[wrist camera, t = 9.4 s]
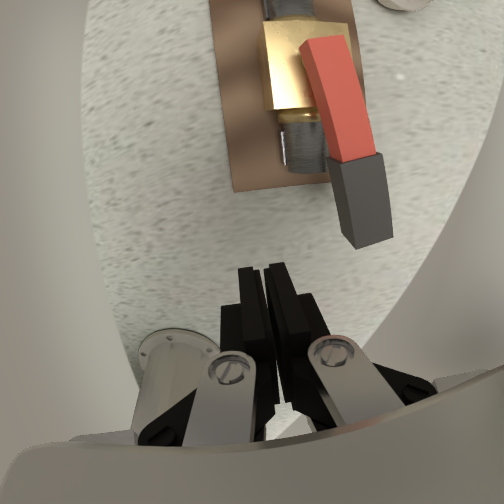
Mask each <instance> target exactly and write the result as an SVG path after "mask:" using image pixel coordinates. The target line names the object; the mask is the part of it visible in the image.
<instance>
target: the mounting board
mask: <svg viewBox="0 0 504 504" xmlns="http://www.w3.org/2000/svg"><path fill="white" fill-rule="evenodd" d="M313 2H314V7H315V13H316V17H318V18H320V19H321V20H322V22H336V23H347V25H348V30H349V36H350V43H351V49H352V56H353V64H354V67H355V70H356V74H357V77H358V80H359V84H360V87H361V91H362V95H363V98H364V102H365V106H366V99H365V88H364V79H363V70H362V63H361V55H360V48H359V42H358V36H357V30H356V24H355V19H354V14H353V9H352V4H351V0H313ZM209 5H210V13H211V22H212V30H213V38H214V46H215V54H216V62H217V70H218V78H219V86H220V93H221V101H222V109H223V116H224V124H225V132H226V139H227V147H228V154H229V161H230V169H231V176H232V183H233V190H234V193H236V192H244V191H251V190H259V189H268V188H277V187H286V186H295V185H305V184H316V183H328V182H331V179H330V174H329V171H328V172H324V173H315V174H297V173H291V172H288V168H287V165H284V164H283V163H282V162H281V159H280V148H279V139H278V131H284V126H283V123H278V114H277V110H276V111H265V109H264V101H263V93H262V84H261V76H260V68H259V61H258V53H257V46H256V41H257V38H258V35H259V32H260V29H261V26H262V23H263V22H264V19H263V12H262V6H261V0H209Z"/></svg>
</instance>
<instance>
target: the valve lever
mask: <svg viewBox="0 0 504 504" xmlns="http://www.w3.org/2000/svg"><path fill="white" fill-rule="evenodd" d="M299 51H300V54H301V57H302V64H303V66H304V67H305V69H306V72H307V75H308V78H309V81H310V84H311V87H312V90H313V94H314V97H315V100H316V104H317V107H318V111H319V114H320V118H321V121H322V125H323V129H324V132H325V136H326V140H327V144H328V148H329V152H330V156H329V157H325V158H326V162H327V166H328V170H329V174H330V179H331V183H332V187H333V192H334V197H335V201H336V206H337V211H338V216H339V221H340V226H341V232H342V234H343V235H344V236H345V237H346V239H347V240H348V241H349V242H350V243H351V244H352V246H353V247H354V248H355V249H356V250H357V249H360V248H363V247H366V246H369V245H372V244H375V243H378V242H381V241H384V240H387V239H390V238H393V227H392V217H391V208H390V200H389V192H388V185H387V179H386V172H385V166H384V160H383V155H382V154H381V153H378V152H376V150H375V145H374V140H373V136H372V131H371V127H370V122H369V118H368V114H367V110H366V106H365V102H364V98H363V95H362V91H361V87H360V84H359V80H358V77H357V74H356V70H355V67H354V64H353V61H352V58H351V55H350V52H349V49H348V46H347V43H346V40H345V37H344V35H334V36H326V37H319V38H312V39H307V40H306V41H305V42H304V43H303V44H302V45H301V46H300V47H299Z"/></svg>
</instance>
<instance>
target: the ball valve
mask: <svg viewBox="0 0 504 504" xmlns="http://www.w3.org/2000/svg"><path fill="white" fill-rule="evenodd" d="M261 6H262V12H263V19H264V22H263V23H262V26H261V29H260V32H259V35H258V38H257V41H256V46H257V53H258V61H259V68H260V76H261V84H262V93H263V101H264V109H265V111H276V110H277V114H278V123H283V126H284V131H278V139H279V148H280V159H281V162H282V163H283V164H284V165H287V168H288V172H291V173H297V174H315V173H324V172H328V171H329V170H328V166H327V162H326V158H325V157H329V156H330V152H329V148H328V144H327V140H326V136H325V132H324V129H323V125H322V121H321V118H320V114H319V111H318V107H317V104H316V100H315V97H314V94H313V90H312V87H311V84H310V81H309V78H308V75H307V72H306V69H305V67H304V66H303V64H302V57H301V54H300V51H299V47H300V46H301V45H302V44H303V43H304V42H305V41H306V40H307V39H312V38H319V37H326V36H334V35H344V37H345V40H346V43H347V46H348V49H349V52H350V55H351V58H352V61H353V56H352V49H351V43H350V36H349V30H348V25H347V23H336V22H322V20H321V19H320V18H318V17H316V13H315V7H314V2H313V0H261Z"/></svg>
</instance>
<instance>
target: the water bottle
mask: <svg viewBox="0 0 504 504" xmlns="http://www.w3.org/2000/svg"><path fill="white" fill-rule="evenodd" d="M378 1H379V3H381V4H382V5H384V6H385V7H388V8H391V9H395V10H403V11H409V12H412V11H416V10H419V9H422V8H424V7H426V6H427V5H428V4H429V3H430V2H432V1H433V0H378Z"/></svg>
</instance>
